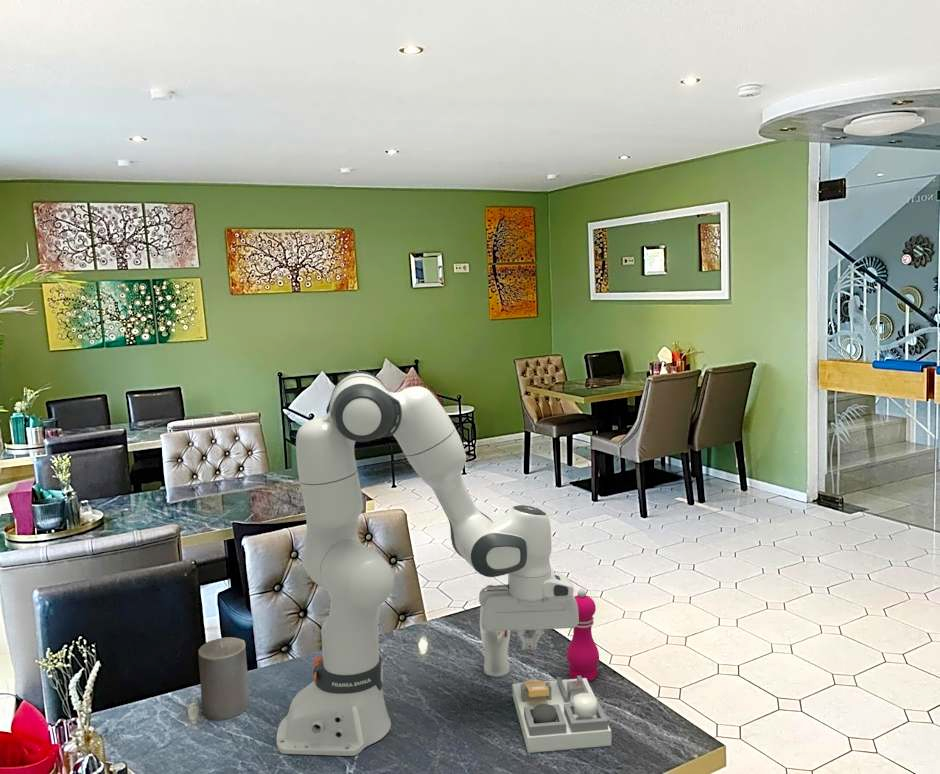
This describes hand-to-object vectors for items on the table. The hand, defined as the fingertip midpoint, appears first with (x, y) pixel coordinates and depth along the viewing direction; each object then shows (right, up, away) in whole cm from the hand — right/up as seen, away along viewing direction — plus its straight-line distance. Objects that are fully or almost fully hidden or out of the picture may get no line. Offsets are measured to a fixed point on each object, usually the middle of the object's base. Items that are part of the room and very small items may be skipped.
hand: (529, 648), depth 158 cm
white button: (+10, -9, -11) cm, 17 cm away
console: (+6, -13, -4) cm, 15 cm away
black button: (+2, -10, -11) cm, 15 cm away
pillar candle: (-64, -15, +5) cm, 66 cm away
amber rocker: (+1, -8, -2) cm, 8 cm away
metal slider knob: (+9, -10, -2) cm, 14 cm away
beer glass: (-6, -11, +17) cm, 21 cm away
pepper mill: (+13, -11, +13) cm, 22 cm away
